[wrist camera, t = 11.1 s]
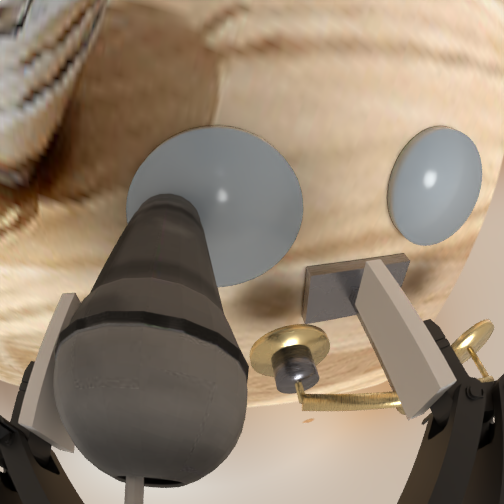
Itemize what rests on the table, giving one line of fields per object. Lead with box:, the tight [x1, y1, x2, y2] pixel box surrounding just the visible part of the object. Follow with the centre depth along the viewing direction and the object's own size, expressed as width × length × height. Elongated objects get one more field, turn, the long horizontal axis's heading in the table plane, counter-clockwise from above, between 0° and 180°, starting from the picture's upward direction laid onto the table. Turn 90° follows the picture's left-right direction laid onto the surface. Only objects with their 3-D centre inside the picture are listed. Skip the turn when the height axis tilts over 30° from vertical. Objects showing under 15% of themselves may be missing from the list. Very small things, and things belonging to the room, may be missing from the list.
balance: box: [250, 253, 494, 415], centre depth 20 cm, size 6×21×15 cm, turn 93°
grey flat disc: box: [126, 125, 303, 287], centre depth 19 cm, size 12×12×1 cm
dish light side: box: [387, 126, 482, 246], centre depth 20 cm, size 11×11×1 cm
